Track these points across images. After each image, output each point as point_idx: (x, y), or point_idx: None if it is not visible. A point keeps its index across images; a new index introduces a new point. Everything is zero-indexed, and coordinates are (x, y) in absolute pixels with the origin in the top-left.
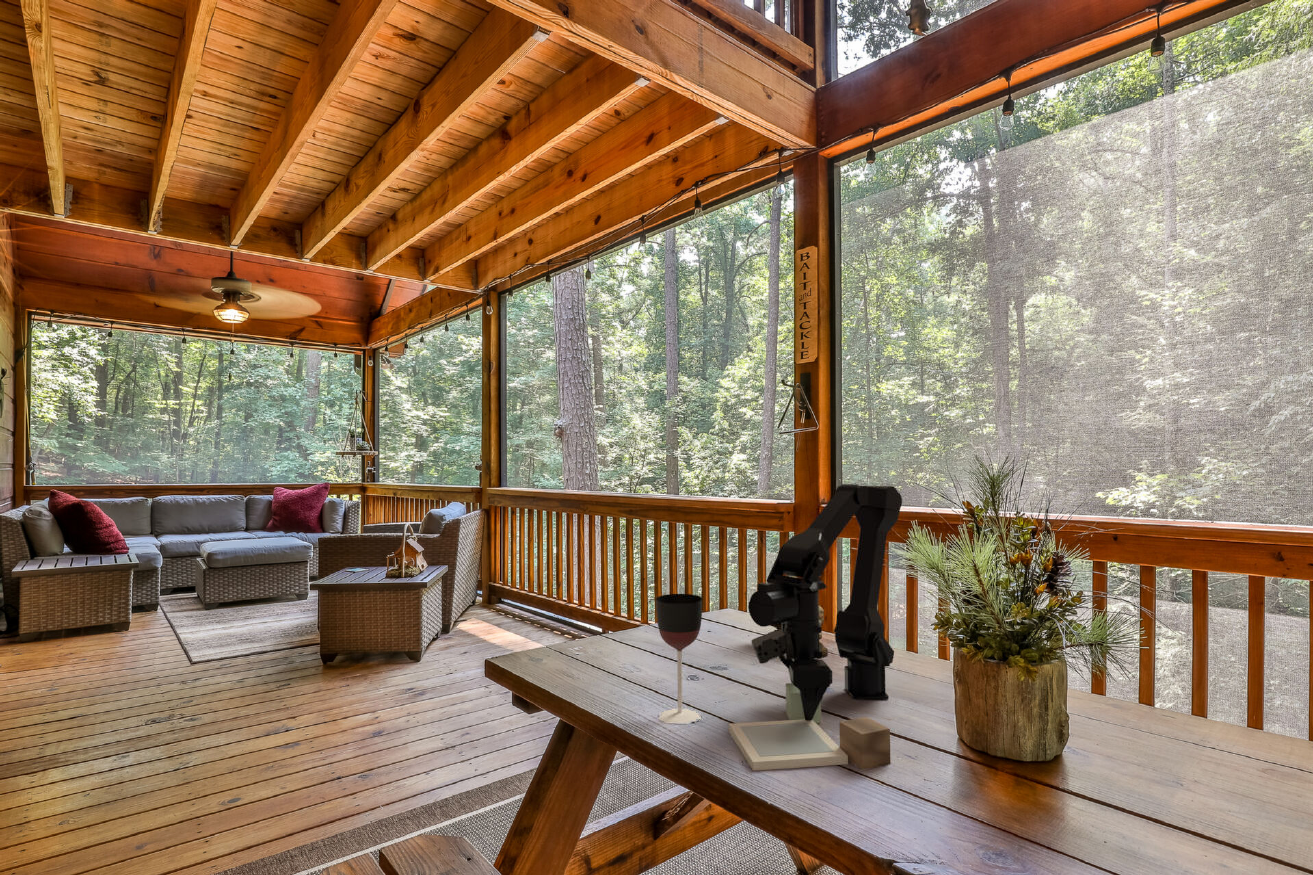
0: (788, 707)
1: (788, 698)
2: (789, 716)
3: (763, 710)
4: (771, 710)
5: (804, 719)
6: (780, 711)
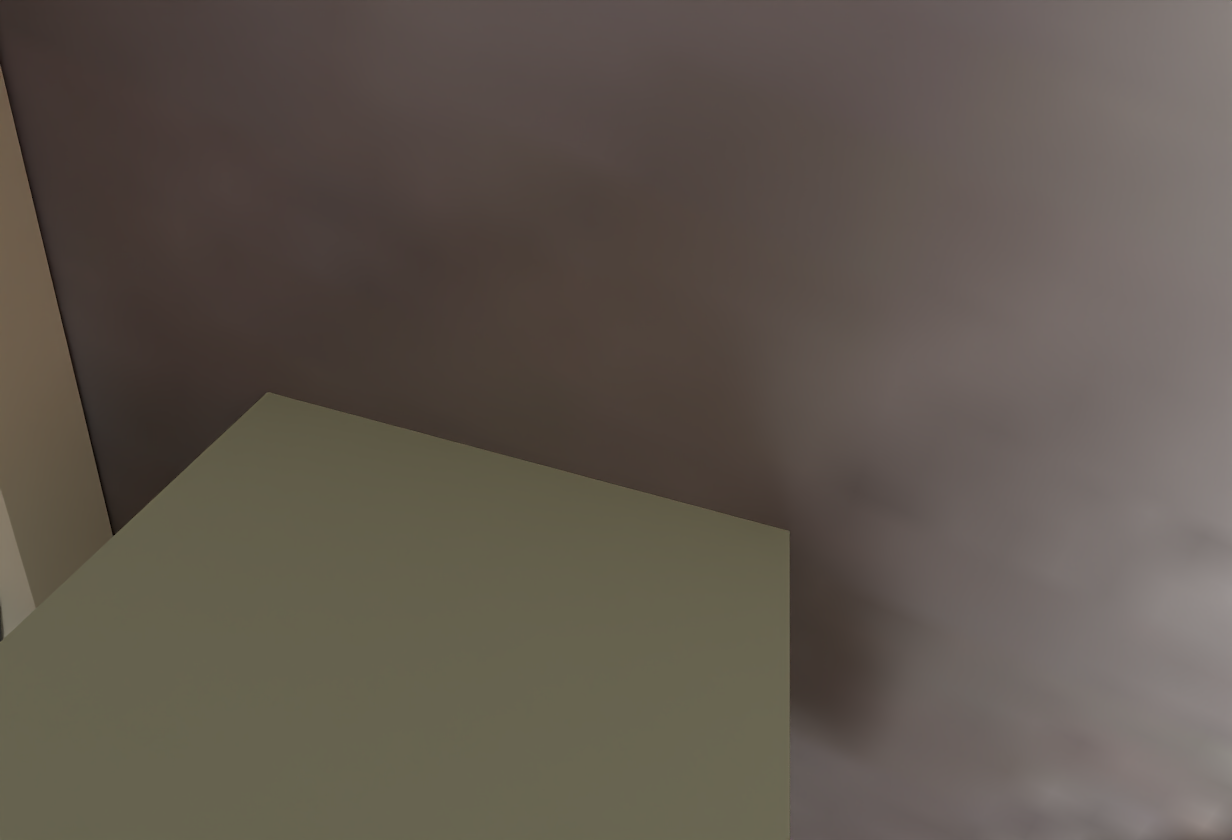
0: (452, 567)
1: (370, 707)
2: (387, 460)
3: (1035, 132)
4: (966, 309)
5: (21, 587)
6: (850, 453)
